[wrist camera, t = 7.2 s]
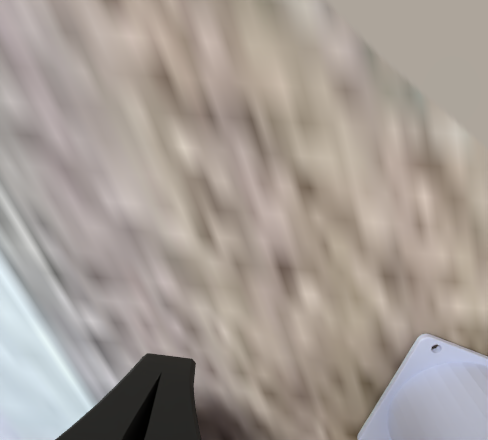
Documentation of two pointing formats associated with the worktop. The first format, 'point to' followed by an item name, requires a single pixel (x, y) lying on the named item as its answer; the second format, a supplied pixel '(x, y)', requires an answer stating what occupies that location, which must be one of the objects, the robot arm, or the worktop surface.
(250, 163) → the worktop surface
